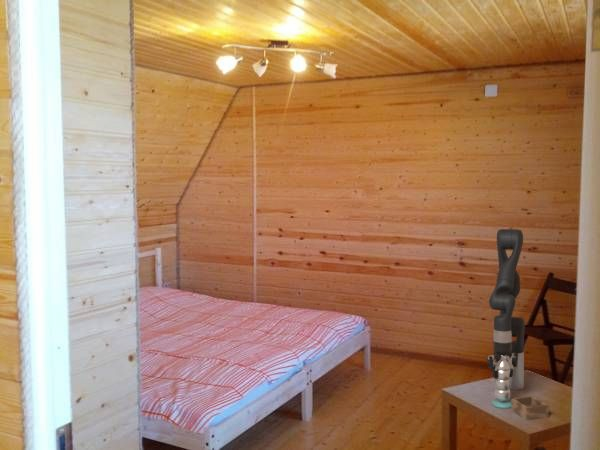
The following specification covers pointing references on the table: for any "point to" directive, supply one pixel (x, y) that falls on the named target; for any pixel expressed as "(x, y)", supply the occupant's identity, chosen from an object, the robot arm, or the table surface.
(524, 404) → the walnut holder
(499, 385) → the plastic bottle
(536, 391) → the table surface
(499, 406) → the teal coaster
